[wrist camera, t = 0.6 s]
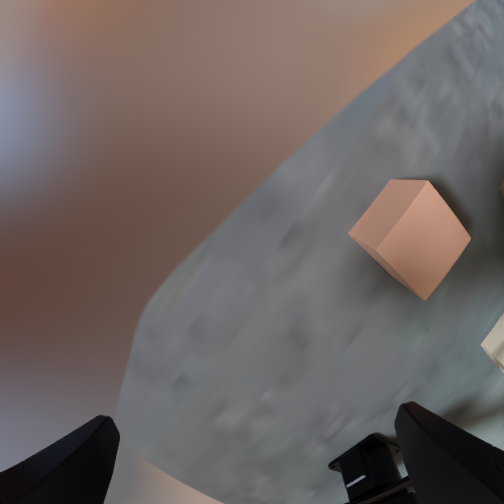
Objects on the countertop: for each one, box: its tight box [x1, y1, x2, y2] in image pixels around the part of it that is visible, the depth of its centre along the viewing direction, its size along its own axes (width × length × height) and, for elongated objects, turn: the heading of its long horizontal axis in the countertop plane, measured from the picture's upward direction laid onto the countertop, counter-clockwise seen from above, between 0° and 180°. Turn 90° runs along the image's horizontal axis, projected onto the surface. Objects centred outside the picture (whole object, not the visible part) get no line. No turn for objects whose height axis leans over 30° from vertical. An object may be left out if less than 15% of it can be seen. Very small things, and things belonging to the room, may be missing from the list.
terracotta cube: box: [348, 179, 471, 301], centre depth 17 cm, size 5×5×5 cm
